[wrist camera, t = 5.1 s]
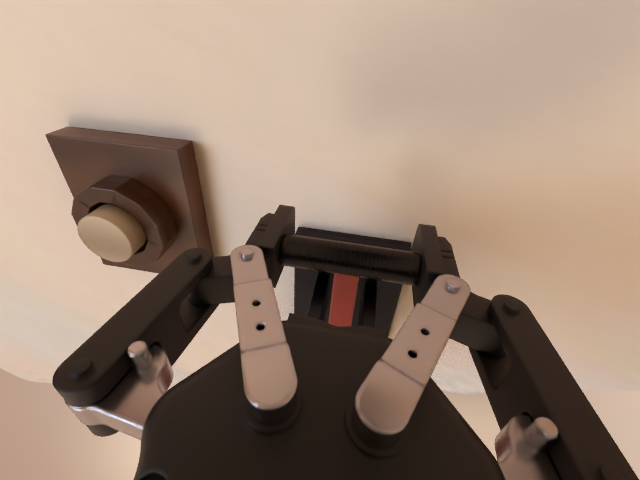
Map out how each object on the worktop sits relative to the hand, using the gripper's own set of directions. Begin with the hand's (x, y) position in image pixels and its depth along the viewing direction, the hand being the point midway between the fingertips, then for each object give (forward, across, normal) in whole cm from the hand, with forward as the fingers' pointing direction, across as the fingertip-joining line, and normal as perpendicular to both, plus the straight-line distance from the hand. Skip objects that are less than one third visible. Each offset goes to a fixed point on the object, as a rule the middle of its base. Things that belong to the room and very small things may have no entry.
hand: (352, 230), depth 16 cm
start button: (+4, +17, +5) cm, 19 cm away
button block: (+8, +17, +5) cm, 20 cm away
